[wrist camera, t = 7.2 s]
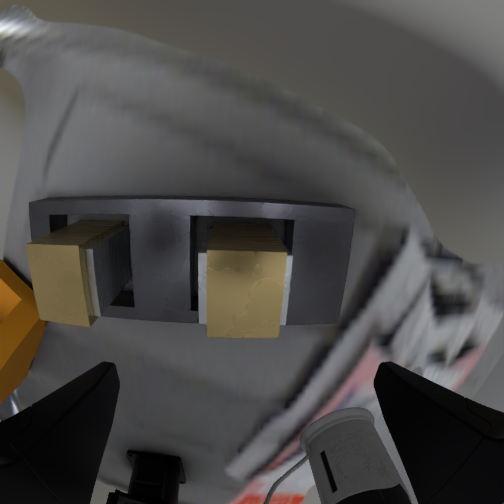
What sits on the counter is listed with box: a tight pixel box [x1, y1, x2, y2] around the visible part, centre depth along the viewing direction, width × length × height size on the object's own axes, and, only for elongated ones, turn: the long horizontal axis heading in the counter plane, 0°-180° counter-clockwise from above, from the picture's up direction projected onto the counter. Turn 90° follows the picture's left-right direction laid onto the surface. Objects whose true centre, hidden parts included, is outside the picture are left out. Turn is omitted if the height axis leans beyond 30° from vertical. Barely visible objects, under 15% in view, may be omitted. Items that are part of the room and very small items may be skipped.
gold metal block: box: [198, 223, 293, 338], centre depth 17 cm, size 4×4×7 cm
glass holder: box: [264, 408, 412, 504], centre depth 19 cm, size 9×14×15 cm, turn 80°
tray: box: [29, 196, 355, 325], centre depth 19 cm, size 8×22×2 cm, turn 86°
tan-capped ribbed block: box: [26, 220, 131, 327], centre depth 16 cm, size 4×4×7 cm
